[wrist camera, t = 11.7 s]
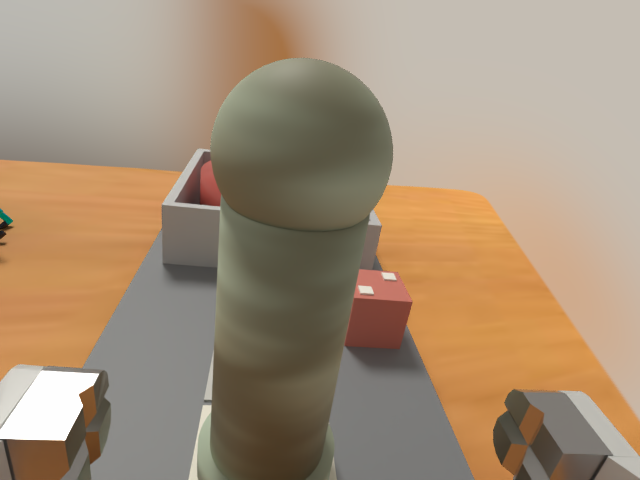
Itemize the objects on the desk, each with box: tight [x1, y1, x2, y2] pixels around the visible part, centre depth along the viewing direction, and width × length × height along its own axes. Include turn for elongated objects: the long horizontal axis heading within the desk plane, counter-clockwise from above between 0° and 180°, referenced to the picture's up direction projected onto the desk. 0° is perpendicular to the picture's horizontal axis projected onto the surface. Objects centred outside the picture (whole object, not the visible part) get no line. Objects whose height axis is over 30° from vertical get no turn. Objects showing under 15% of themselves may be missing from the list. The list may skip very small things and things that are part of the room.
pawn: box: [197, 58, 393, 480], centre depth 13 cm, size 5×5×14 cm
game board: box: [83, 149, 474, 480], centre depth 27 cm, size 16×31×5 cm, turn 5°
